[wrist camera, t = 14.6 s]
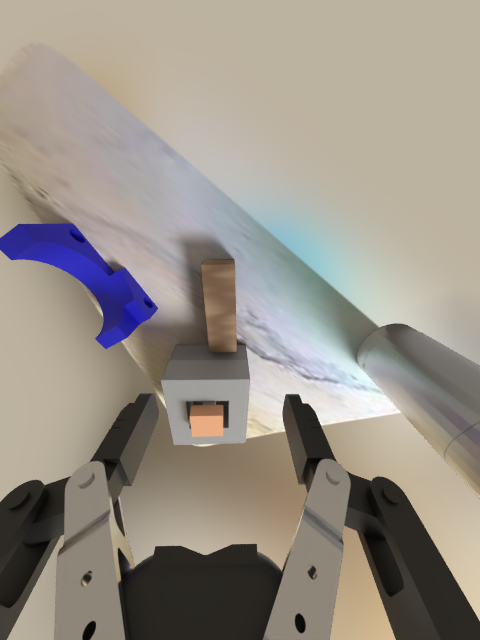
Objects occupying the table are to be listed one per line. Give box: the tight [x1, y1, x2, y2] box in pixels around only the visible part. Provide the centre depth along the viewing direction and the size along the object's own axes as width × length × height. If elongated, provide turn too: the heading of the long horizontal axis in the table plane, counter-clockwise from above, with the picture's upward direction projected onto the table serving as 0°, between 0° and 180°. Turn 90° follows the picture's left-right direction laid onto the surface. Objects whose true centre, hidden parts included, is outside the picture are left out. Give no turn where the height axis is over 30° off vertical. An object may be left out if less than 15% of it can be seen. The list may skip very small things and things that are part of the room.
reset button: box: [190, 401, 223, 437], centre depth 24 cm, size 4×4×3 cm
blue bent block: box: [0, 224, 158, 349], centre depth 20 cm, size 12×4×6 cm, turn 28°
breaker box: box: [161, 345, 250, 445], centre depth 27 cm, size 10×12×7 cm
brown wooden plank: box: [201, 259, 237, 353], centre depth 24 cm, size 4×4×11 cm
